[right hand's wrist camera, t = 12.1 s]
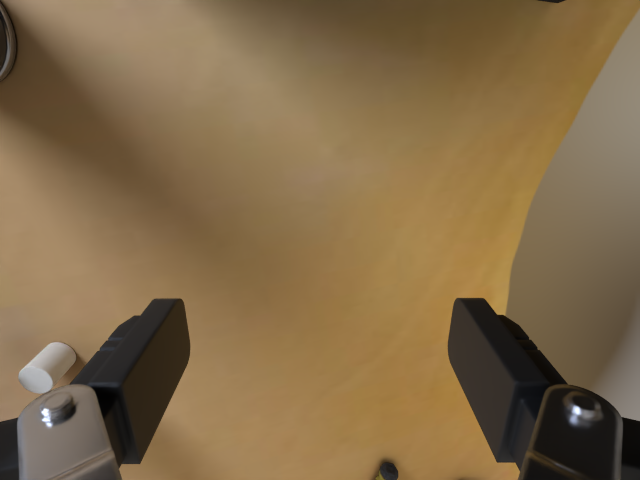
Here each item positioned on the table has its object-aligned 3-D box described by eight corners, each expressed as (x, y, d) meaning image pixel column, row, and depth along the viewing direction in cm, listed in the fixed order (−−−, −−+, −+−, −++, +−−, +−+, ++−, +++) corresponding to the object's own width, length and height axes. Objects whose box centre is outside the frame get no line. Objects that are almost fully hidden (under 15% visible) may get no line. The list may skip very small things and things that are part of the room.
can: (53, 369, 48) (28, 396, 44) (39, 344, 47) (11, 370, 43) (81, 364, 48) (58, 390, 44) (68, 339, 47) (43, 364, 42)
